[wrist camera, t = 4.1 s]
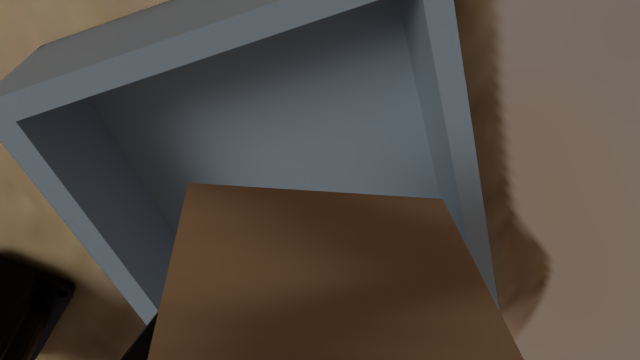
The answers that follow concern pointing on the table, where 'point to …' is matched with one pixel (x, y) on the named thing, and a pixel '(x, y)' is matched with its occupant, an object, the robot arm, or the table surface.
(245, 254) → the walnut cube
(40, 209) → the table surface
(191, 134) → the tote
